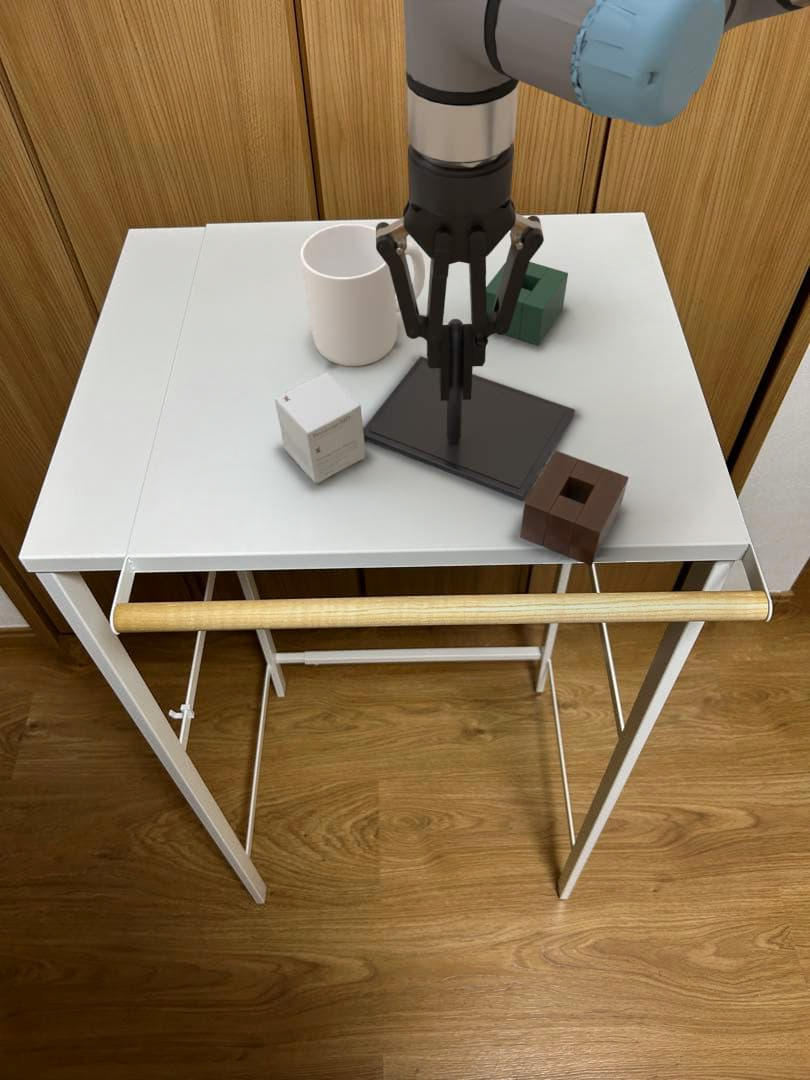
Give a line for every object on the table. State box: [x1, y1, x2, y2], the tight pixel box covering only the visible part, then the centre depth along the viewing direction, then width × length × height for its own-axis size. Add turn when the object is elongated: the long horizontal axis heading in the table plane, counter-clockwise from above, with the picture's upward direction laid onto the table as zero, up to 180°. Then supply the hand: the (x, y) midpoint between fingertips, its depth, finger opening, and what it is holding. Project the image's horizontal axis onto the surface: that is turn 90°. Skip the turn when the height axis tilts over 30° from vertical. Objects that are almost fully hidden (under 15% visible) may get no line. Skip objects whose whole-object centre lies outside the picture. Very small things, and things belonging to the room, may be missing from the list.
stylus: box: [447, 318, 464, 443], centre depth 78 cm, size 1×1×14 cm
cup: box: [300, 223, 426, 367], centre depth 89 cm, size 9×14×12 cm
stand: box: [486, 261, 569, 346], centre depth 93 cm, size 7×7×5 cm
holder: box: [519, 450, 630, 567], centre depth 75 cm, size 7×7×5 cm
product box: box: [274, 371, 366, 484], centre depth 80 cm, size 6×6×7 cm
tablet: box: [363, 355, 576, 502], centre depth 85 cm, size 18×13×1 cm
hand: (455, 389), depth 77 cm, fingers closed on stylus
